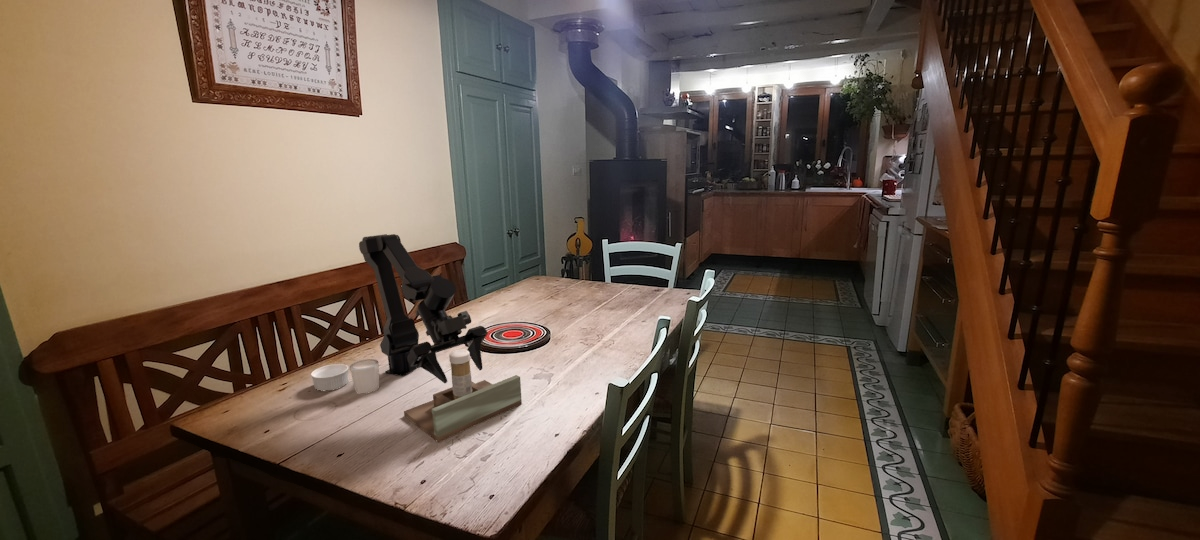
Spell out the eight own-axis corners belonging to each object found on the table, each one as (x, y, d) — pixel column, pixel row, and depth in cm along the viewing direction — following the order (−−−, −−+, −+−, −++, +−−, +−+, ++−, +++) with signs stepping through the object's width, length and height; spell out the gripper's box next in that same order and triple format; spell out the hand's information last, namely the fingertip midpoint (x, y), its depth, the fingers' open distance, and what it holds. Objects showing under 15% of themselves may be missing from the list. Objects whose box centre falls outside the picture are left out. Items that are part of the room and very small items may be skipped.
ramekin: (308, 385, 130) (305, 370, 130) (343, 375, 137) (341, 360, 136) (319, 396, 125) (317, 380, 124) (355, 384, 131) (353, 369, 130)
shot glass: (387, 384, 130) (384, 360, 129) (367, 396, 124) (364, 371, 122) (367, 381, 132) (363, 357, 131) (346, 392, 126) (343, 367, 124)
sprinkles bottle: (465, 398, 119) (461, 347, 116) (477, 403, 117) (473, 351, 113) (449, 406, 116) (445, 353, 113) (461, 411, 113) (457, 358, 110)
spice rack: (404, 415, 114) (401, 387, 112) (484, 384, 130) (482, 358, 128) (438, 442, 103) (435, 411, 102) (521, 404, 119) (520, 376, 117)
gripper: (407, 312, 107) (437, 373, 102) (480, 294, 120) (510, 347, 115) (395, 337, 114) (422, 395, 109) (466, 317, 127) (493, 369, 122)
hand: (464, 375), depth 113 cm, fingers open, 9 cm apart
